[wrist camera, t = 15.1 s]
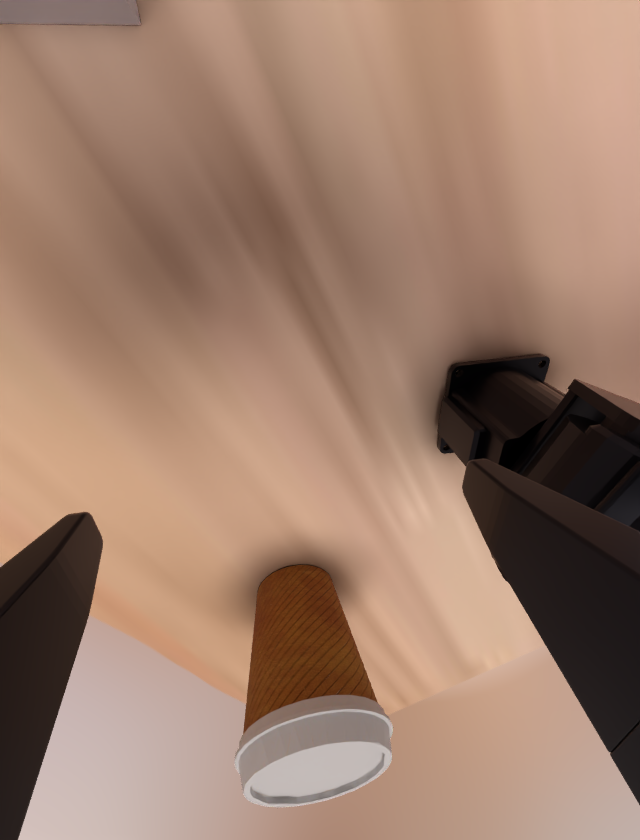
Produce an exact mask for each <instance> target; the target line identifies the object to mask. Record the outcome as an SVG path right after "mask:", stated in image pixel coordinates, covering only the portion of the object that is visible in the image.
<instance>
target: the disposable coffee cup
mask: <svg viewBox="0 0 640 840" xmlns="http://www.w3.org/2000/svg"><path fill="white" fill-rule="evenodd" d="M392 733H393V726H392V723H391V721H390V719H389V717H388V716H387V715H386V714H385V713H384V710H383V708H382V707H381V706H380V705H379V704H378V702H377V700H376V697H375V694H374V692H373V689H372V687H371V683H370V681H369V678H368V676H367V673H366V670H365V668H364V664H363V662H362V660H361V657H360V654H359V652H358V649H357V646H356V644H355V641H354V638H353V636H352V633H351V630H350V628H349V625H348V622H347V620H346V617H345V614H344V612H343V610H342V606H341V604H340V601H339V599H338V596H337V593H336V591H335V588H334V585H333V583H332V579H331V578H330V576H329V574H328V573H327V572H325V571H324V570H322V569H320V568H318V567H315V566H310V565H295V566H290V567H286V568H283V569H280V570H278V571H276V572H274V573H272V574H271V575H269V576H268V577H267V578H266V579H265V580H264V581H263V582H262V583H261V585H260V586H259V589H258V594H257V604H256V614H255V623H254V634H253V643H252V653H251V663H250V673H249V683H248V693H247V703H246V713H245V722H244V732H243V735H242V738H241V740H240V744H239V749H238V750H237V752H236V756H235V769H236V770H237V771H238V772H239V774H240V776H241V783H242V789H243V794H244V796H245V797H246V799H247V800H249V801H250V802H252V803H255V804H259V805H262V806H266V807H292V806H302V805H307V804H312V803H316V802H320V801H325V800H329V799H332V798H335V797H338V796H341V795H344V794H346V793H348V792H351V791H354V790H356V789H358V788H360V787H362V786H364V785H366V784H367V783H369V782H371V781H373V780H374V779H376V778H377V777H378V776H380V775H381V774H382V773H383V772H384V771H385V770H386V769H387V768H388V766H389V765H390V763H391V760H392V752H391V742H390V738H391V736H392Z"/></svg>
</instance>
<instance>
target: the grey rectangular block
mask: <svg viewBox="0 0 640 840" xmlns="http://www.w3.org/2000/svg"><path fill="white" fill-rule="evenodd" d="M0 24H78V25H141V22H140V17H139V12H138V7H137V2H136V0H0Z"/></svg>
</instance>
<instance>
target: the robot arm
mask: <svg viewBox="0 0 640 840" xmlns="http://www.w3.org/2000/svg"><path fill="white" fill-rule="evenodd" d="M541 361H542V362H541ZM539 362H541V363H540V364H539ZM549 363H550V360H549V358H548V357H547V356H545V355H543V354H537V355H528V356H518V357H509V358H500V359H490V360H481V361H472V362H463V363H456V364H454V365H452V366H451V367H450V369H449V372H448V379H447V385H446V392H445V397H444V398H443V400H442V405H441V412H440V418H439V425H438V433H439V438H438V444H437V447H438V449H439V450H440V451H441V453H445V454H446V453H453V452H454V453H455V454H456V455H457V456H458V457H459V459H460V460H461V461H462V462H463V464H464V465H465V466H466V471H465V475H464V480H463V485H462V489H463V493H464V496H465V498H466V500H467V503H468V505H469V507H470V509H471V511H472V514H473V516H474V518H475V520H476V522H477V524H478V527H479V529H480V531H481V533H482V535H483V538H484V540H485V542H486V544H487V546H488V548H489V549H490V552H491V555H492V558H493V559H494V560H495V563H496V565H497V567H498V569H499V571H500V572H501V574H502V576H503V578H504V579H505V580H506V581H507V582H508V583H509V584H510V585H511V587H512V589H513V590H514V592H515V594H516V596H517V597H518V599H519V601H520V602H521V604H522V606H523V607H524V609H525V611H526V613H527V614H528V616H529V618H530V619H531V621H532V623H533V624H534V626H535V628H536V629H537V631H538V633H539V635H540V636H541V638H542V640H543V641H544V643H545V645H546V646H547V648H548V650H549V652H550V653H551V655H552V657H553V658H554V660H555V661H556V663H557V665H558V667H559V668H560V670H561V672H562V673H563V675H564V677H565V679H566V680H567V682H568V684H569V685H570V687H571V688H572V690H573V692H574V694H575V696H576V697H577V699H578V700H579V702H580V704H581V706H582V707H583V709H584V711H585V712H586V714H587V716H588V718H589V719H590V721H591V723H592V724H593V726H594V728H595V729H596V731H597V733H598V734H599V736H600V738H601V740H602V741H603V743H604V745H605V746H606V748H607V750H608V751H609V752H611V753H610V755H611V757H612V759H613V761H614V762H615V764H616V766H617V767H618V769H619V771H620V772H621V774H622V776H623V778H624V779H625V781H626V782H627V784H628V786H629V788H630V789H631V791H632V793H633V794H634V796H635V798H636V799H637V801H638V803H639V805H640V404H639V403H637V402H634V401H632V400H629V399H626V398H624V397H621V396H619V395H616V394H613V393H611V392H608V391H606V390H603V389H600V388H598V387H595V386H593V385H590V384H588V383H585V382H582V381H580V380H577V379H574V380H573V382H572V383H571V385H570V386H569V387H568V389H569V391H568V392H567V394H566V395H565V394H563V393H562V392H560V391H558V390H557V389H555V388H554V387H552V386H550V385H549V384H547V383H545V382H544V380H545V377H546V373H547V370H548V367H549ZM538 364H539V365H538ZM459 369H460V372H459V373H458V374H456V375H455V373H456V371H457V370H459ZM445 445H447V446H446V447H444V446H445ZM102 548H103V540H102V536H101V534H100V532H99V530H98V528H97V526H96V524H95V521H94V519H93V517H92V516H91V514H90V513H88V512H81V513H73V514H68V515H66V516H65V517H64V518H62V519H61V520H60V521H58V522H57V523H56V524H55V525H53V526H52V527H51V528H50V529H48V530H47V531H46V532H45V533H43V534H42V535H41V536H39V537H38V538H37V539H36V540H34V541H33V542H32V543H31V544H29V545H28V546H27V547H26V548H24V549H23V550H22V551H20V552H19V553H18V554H17V555H15V556H14V557H13V558H12V559H10V560H9V561H8V562H7V563H5V564H4V565H3V566H2V567H0V840H18V837H19V835H20V831H21V828H22V825H23V822H24V819H25V816H26V813H27V809H28V806H29V803H30V800H31V797H32V794H33V790H34V787H35V784H36V781H37V777H38V775H39V771H40V768H41V765H42V762H43V759H44V756H45V752H46V749H47V746H48V743H49V740H50V736H51V734H52V730H53V727H54V724H55V721H56V718H57V715H58V711H59V708H60V705H61V702H62V698H63V696H64V693H65V689H66V686H67V683H68V680H69V677H70V673H71V670H72V667H73V664H74V661H75V658H76V655H77V651H78V648H79V645H80V642H81V639H82V635H83V633H84V629H85V626H86V623H87V619H88V616H89V612H90V608H91V604H92V599H93V594H94V589H95V584H96V578H97V573H98V568H99V563H100V558H101V553H102Z"/></svg>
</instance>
